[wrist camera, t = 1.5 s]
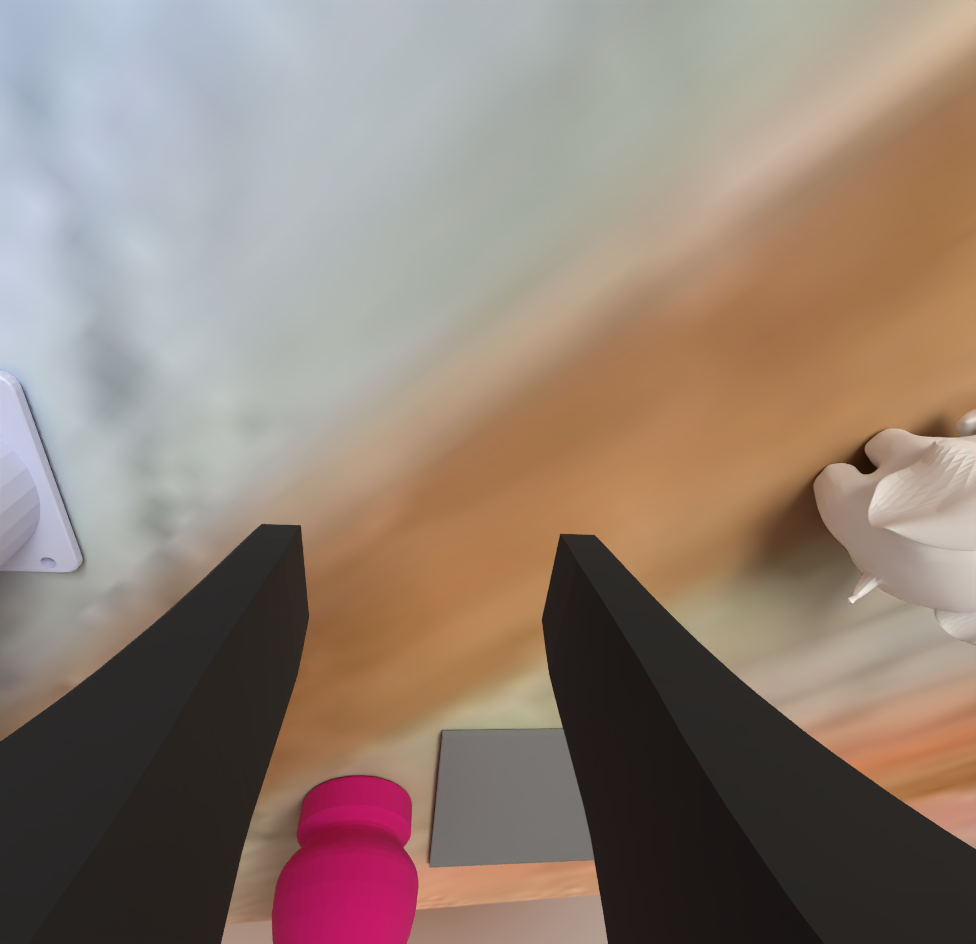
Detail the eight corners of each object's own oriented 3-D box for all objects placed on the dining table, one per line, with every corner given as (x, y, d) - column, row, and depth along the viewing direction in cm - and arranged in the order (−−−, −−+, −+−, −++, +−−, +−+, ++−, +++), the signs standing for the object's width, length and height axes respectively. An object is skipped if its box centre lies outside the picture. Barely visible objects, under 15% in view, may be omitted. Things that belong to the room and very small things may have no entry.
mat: (429, 860, 35) (429, 867, 35) (442, 730, 28) (442, 737, 28) (713, 848, 38) (716, 854, 38) (790, 725, 31) (794, 732, 31)
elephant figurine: (1037, 452, 22) (1264, 565, 16) (825, 581, 25) (950, 719, 19) (983, 320, 19) (1240, 399, 13) (746, 486, 22) (866, 615, 16)
